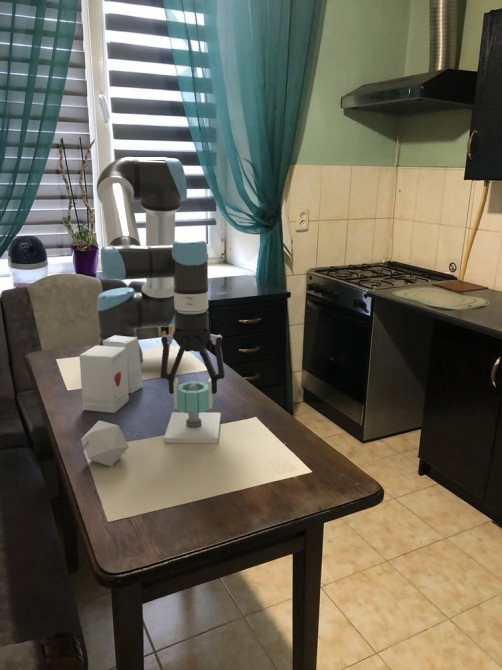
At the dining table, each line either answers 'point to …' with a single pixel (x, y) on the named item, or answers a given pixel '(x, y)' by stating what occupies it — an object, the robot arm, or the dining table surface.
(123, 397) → the supplement box
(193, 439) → the post stand
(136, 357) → the skincare box
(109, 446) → the die
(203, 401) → the teal ring
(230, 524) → the dining table surface
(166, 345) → the robot arm
